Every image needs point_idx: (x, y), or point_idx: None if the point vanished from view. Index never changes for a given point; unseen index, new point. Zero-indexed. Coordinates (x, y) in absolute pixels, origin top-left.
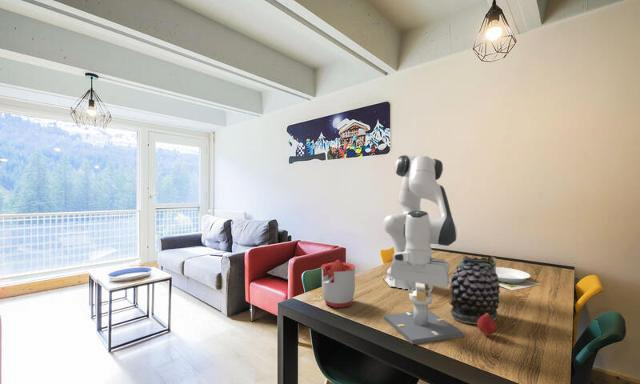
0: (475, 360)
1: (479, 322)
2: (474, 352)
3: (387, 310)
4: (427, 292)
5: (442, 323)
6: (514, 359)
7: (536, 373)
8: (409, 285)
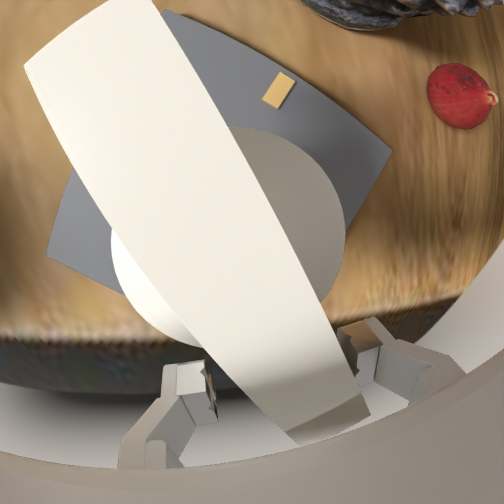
0: (424, 277)
1: (456, 114)
2: (421, 239)
3: (8, 155)
4: (371, 378)
5: (302, 120)
6: (481, 202)
7: (498, 232)
8: (171, 423)
